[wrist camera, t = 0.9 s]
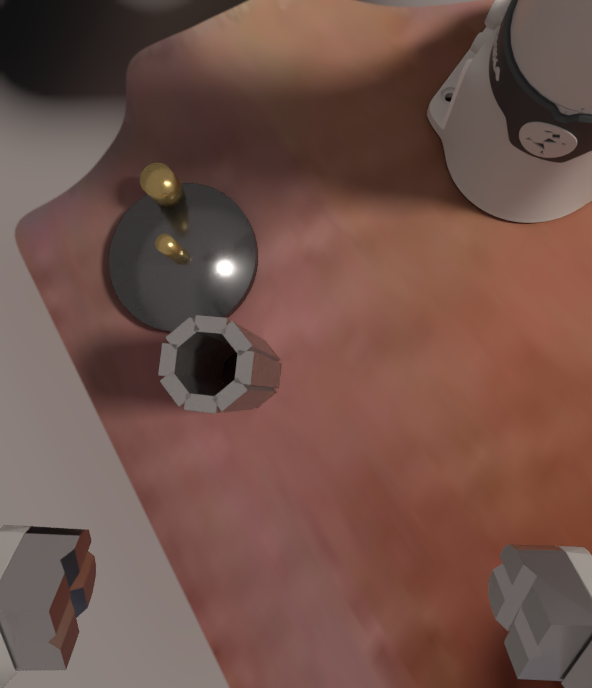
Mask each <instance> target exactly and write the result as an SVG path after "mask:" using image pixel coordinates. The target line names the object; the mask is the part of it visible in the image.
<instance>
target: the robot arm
mask: <svg viewBox="0 0 592 688" xmlns="http://www.w3.org/2000/svg"><path fill="white" fill-rule="evenodd" d="M484 24H485V25H486V28H485V29H484V31H483V32H480V33H479V34H478V35H477V36H476V38H475V40H474V42H473V44H472V46H471V48H470V49H469V51H468V52H467V53H466V55H465V56H464V57H463V59H462V60H461V61H460V63H459V64H458V65H457V67H456V68H455V69H454V71H453V72H452V73H451V75H450V76H449V77H448V79H447V80H446V81H445V83H444V84H443V85H442V87H441V88H440V89H439V91H438V92H437V93H436V95H435V96H434V97H433V99H432V100H431V102H430V104H429V106H428V109H427V117H428V120H429V122H430V123H431V125H432V127H433V128H434V130H435V131H436V132H437V134H438V135H439V137H440V138H441V140H442V143H443V147H444V153H445V158H446V163H447V167H448V169H449V172H450V174H451V177H452V179H453V181H454V182H455V184H456V185H457V187H458V188H459V190H460V191H461V192H462V193H463V195H464V196H465V197H466V198H467V199H468V200H469V201H471V202H472V203H473V204H474V205H476V206H477V207H478V208H480V209H482V210H483V211H485V212H487V213H489V214H491V215H493V216H496V217H499V218H501V219H505V220H509V221H514V222H523V223H535V222H544V221H550V220H554V219H557V218H560V217H563V216H565V215H568V214H570V213H572V212H574V211H576V210H577V209H579V208H581V207H582V206H584V205H586V204H587V203H589V202H591V201H592V0H496V1H495V2H494V4H493V5H492V7H491V9H490V11H489V13H488V15H487V17H486V19H485V22H484ZM448 97H449V98H452V99H451V102H448V101H446V100H445V98H448ZM90 544H91V537H90V533H89V530H84V529H68V528H67V529H66V528H51V527H34V526H13V525H3V526H2V527H1V528H0V688H4V686H6V684H7V683H8V682H9V681H10V680H11V679H12V678H13V677H14V676H15V675H16V671H17V670H18V671H19V670H66V668H67V666H68V663H69V660H70V657H71V654H72V651H73V648H74V645H75V643H76V640H77V637H78V634H79V629H78V624H77V620H76V618H77V617H78V616H79V615H80V614H81V613H82V612H84V611H85V610H86V609H87V608H88V605H89V602H90V599H91V595H92V593H93V587H94V582H95V576H96V563H95V557H94V556H93V555H92V554H91V553H90V552H88V549H89V546H90ZM500 558H501V560H502V562H503V564H501V565H500V566H498V567H497V568H495V569H494V570H493V571H492V574H491V576H490V579H489V599H490V604H491V608H492V611H493V614H494V616H495V619H496V620H497V621H498V622H499V623H500V624H501V625H502V626H503V627H504V628H505V629H506V630H507V634H506V637H505V640H504V644H505V646H506V649H507V652H508V654H509V657H510V660H511V662H512V665H513V668H514V670H515V673H516V676H517V678H518V679H530V680H550V681H562V683H561V684H562V685H563V686H564V688H592V555H591V554H590V552H588V551H587V550H586V549H585V548H584V547H569V546H555V545H514V544H509V545H507V546H505V547H504V548H503V550H502V552H501V554H500Z"/></svg>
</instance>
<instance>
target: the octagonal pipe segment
mask: <svg viewBox="0 0 592 688" xmlns="http://www.w3.org/2000/svg"><path fill="white" fill-rule="evenodd" d="M165 338H166V339H167V341H168V342H169V343H170V344H167V343H162V350H161V357H160V365H159V373H158V375H161V376H165V377H164V378H163V379H162V380H160V382H161V384H162V385H163V386H164V388H165V389H166V390H167V392H168V393H169V394H170V396H171V397H172V398H173V400H174V401H175V402H176V404H177V405H178V406H179V407H182V406H184V410H191V411H200V412H209V413H223V412H232V411H241V410H250V409H254V408H258V407H260V406H261V405H262V404H263V403H264V402H266V401H267V400H268V399H269V398H270V397H272V396H273V395H274V394H275V393H277V392H276V391H275V389H274V388H279V384H280V374H281V365H282V364H281V363H279V362H278V361H279V360H280V358H279V357H278V356H277V355H276V353H275V352H274V351H273V350H272V348H271V347H270V346H269V345H268V343H267V342H266V341H265V340H263V339H262V338H260V337H258V336H257V335H255V334H253V333H252V332H250V331H248V330H247V329H245V328H244V327H242V326H240V325H239V324H237V323H235V322H234V321H231V320H230V319H228V318H223V317H211V316H199V315H196V317H195V319H193V318H191V317H189V318H188V319H187V320H186V321H185V322H183V323H182V324H181V325H180V326H179V327H177V328H176V329H175V330H174V331H173V332H171V333H170V334H169V335H168V336H167V337H165ZM235 351H236V352H237V353H238V355H237V363H236V372H235V380H234V381H232V382H231V383H230V384H229V385H228V386H227V385H226V384H225V383H224V382H223V380H222V376H223V368H224V361H225V360H226V359H227V358H228V357H229V356H231V355H232V354H233V353H234V352H235Z"/></svg>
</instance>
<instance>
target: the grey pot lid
mask: <svg viewBox="0 0 592 688" xmlns="http://www.w3.org/2000/svg"><path fill="white" fill-rule="evenodd" d="M140 185H141V187H142V189H143V190H144V191H145V192H146V193H147V195H145V196H144V197H142V198H141V199H140V200H139V201H137V202H136V203H135V204H134V205H133V206H132V207H131V208H130V209H129V210H128V211H127V213H126V214H125V215H124V217H123V218H122V219H121V221H120V223H119V225H118V226H117V228H116V231H115V233H114V235H113V239H112V242H111V246H110V252H109V272H110V277H111V282H112V285H113V287H114V290H115V292H116V294H117V296H118V298H119V300H120V301H121V303H122V304H123V305H124V307H125V308H126V309H127V310H128V311H129V312H130V313H131V314H132V315H133V316H135V317H136V318H137V319H138V320H140V321H142V322H143V323H145V324H147V325H149V326H152V327H154V328H157V329H160V330H163V331H167V332H173V331H174V330H175V329H176V328H177V327H179V326H180V325H181V324H182V323H183V322H185V321H186V320H187V319H188V318H189V317H191V318H193V319H195V317H196V315H199V316H211V317H223V318H228V317H229V316H230V315H231V314H233V313H234V312H235V311H236V310H237V308H238V307H239V306H240V305H241V304H242V302H243V301H244V300H245V298H246V297H247V295H248V293H249V291H250V290H251V287H252V285H253V282H254V279H255V276H256V272H257V265H258V248H257V241H256V238H255V234H254V231H253V229H252V227H251V224H250V223H249V221H248V219H247V218H246V216H245V215H244V213H243V212H242V210H241V209H240V208H239V207H238V205H237V204H236V203H235V202H234V201H233V200H231V199H230V198H229V197H228V196H226V195H225V194H223V193H222V192H220V191H218V190H216V189H214V188H211V187H208V186H205V185H200V184H194V183H181V182H180V181H179V179H178V178H177V177H176V176H175V174H174V173H173V172H172V171H171V170H170V168H169V167H168V166H167V165H165V164H163V163H158V162H157V163H152V164H150V165H148V166H147V167H145V168H144V170H143V171H142V173H141V175H140Z"/></svg>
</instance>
